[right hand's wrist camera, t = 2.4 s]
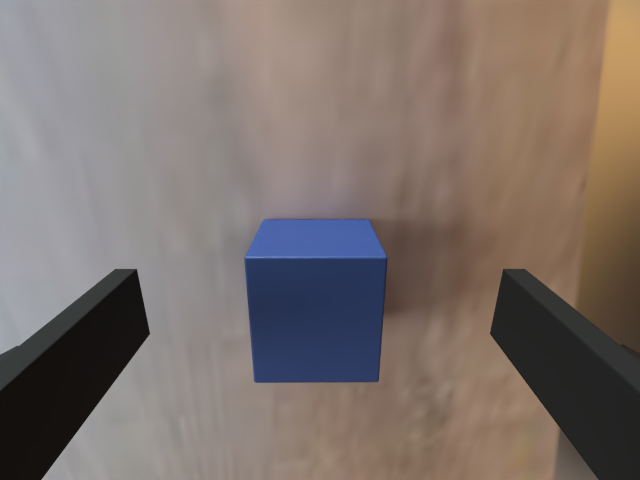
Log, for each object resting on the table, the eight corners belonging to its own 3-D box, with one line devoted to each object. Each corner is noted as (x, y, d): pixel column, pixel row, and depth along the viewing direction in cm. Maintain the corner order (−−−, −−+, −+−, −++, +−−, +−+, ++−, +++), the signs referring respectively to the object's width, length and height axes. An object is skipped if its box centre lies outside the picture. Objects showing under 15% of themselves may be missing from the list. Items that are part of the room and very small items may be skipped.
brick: (263, 218, 15) (244, 257, 11) (369, 219, 15) (388, 256, 11) (268, 319, 17) (253, 383, 13) (364, 319, 17) (378, 383, 13)
